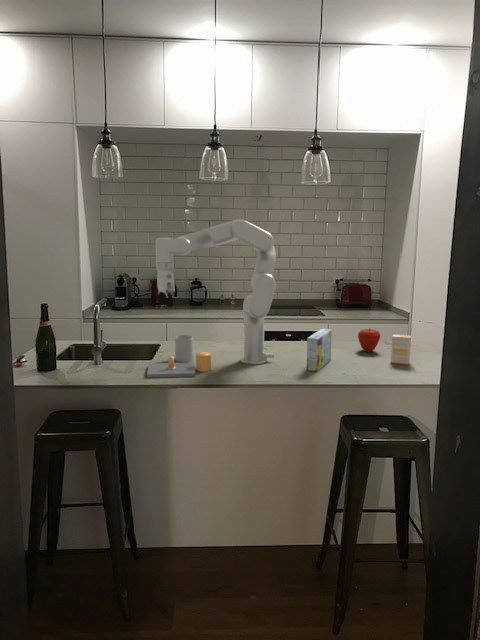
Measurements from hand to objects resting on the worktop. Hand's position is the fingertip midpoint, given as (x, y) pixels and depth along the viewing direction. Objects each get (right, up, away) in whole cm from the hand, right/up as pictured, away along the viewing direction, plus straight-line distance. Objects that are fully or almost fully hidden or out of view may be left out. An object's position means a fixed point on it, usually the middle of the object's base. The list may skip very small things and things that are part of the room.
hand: (165, 304), depth 221 cm
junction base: (+3, -29, -4) cm, 30 cm away
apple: (+98, -23, +33) cm, 106 cm away
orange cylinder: (+17, -29, -1) cm, 33 cm away
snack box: (+69, -28, +8) cm, 75 cm away
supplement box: (+108, -27, +12) cm, 112 cm away
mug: (+7, -25, +16) cm, 31 cm away
